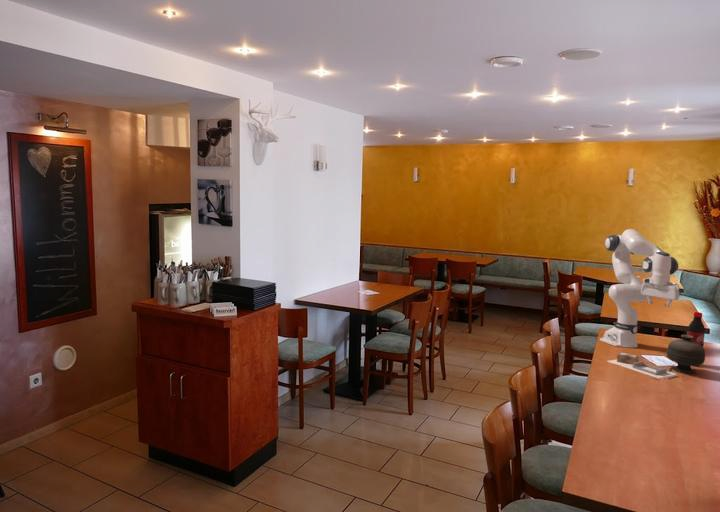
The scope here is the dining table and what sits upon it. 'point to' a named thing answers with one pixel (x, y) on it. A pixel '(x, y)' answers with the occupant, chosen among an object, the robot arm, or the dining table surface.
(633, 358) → the frame
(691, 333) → the cola bottle
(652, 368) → the wall panel
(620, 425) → the dining table surface
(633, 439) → the dining table surface
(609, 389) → the dining table surface
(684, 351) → the pot
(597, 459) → the dining table surface
